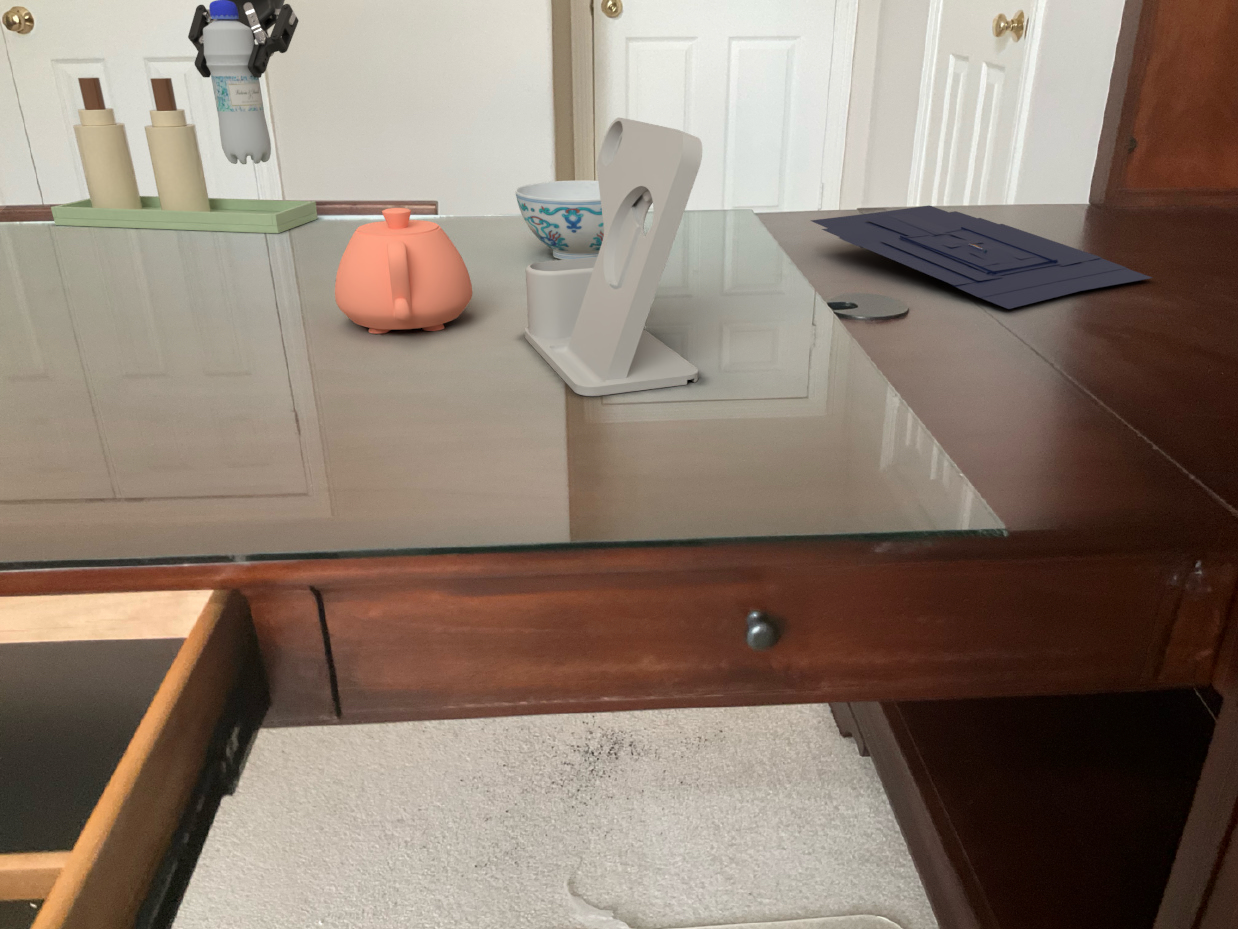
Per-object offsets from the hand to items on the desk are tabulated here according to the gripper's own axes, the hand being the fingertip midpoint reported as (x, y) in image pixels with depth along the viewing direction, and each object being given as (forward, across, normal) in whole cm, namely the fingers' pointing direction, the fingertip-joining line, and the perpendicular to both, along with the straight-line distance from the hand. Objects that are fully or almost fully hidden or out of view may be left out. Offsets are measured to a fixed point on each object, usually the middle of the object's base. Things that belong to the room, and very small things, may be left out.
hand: (227, 72), depth 121 cm
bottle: (+7, 0, -9) cm, 12 cm away
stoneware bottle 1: (+12, +22, -14) cm, 29 cm away
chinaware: (+21, -49, -7) cm, 54 cm away
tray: (+13, +11, -15) cm, 23 cm away
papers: (+21, -94, -7) cm, 96 cm away
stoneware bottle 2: (+12, +11, -14) cm, 22 cm away
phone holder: (+47, -60, +20) cm, 79 cm away
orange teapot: (+44, -40, +16) cm, 61 cm away
